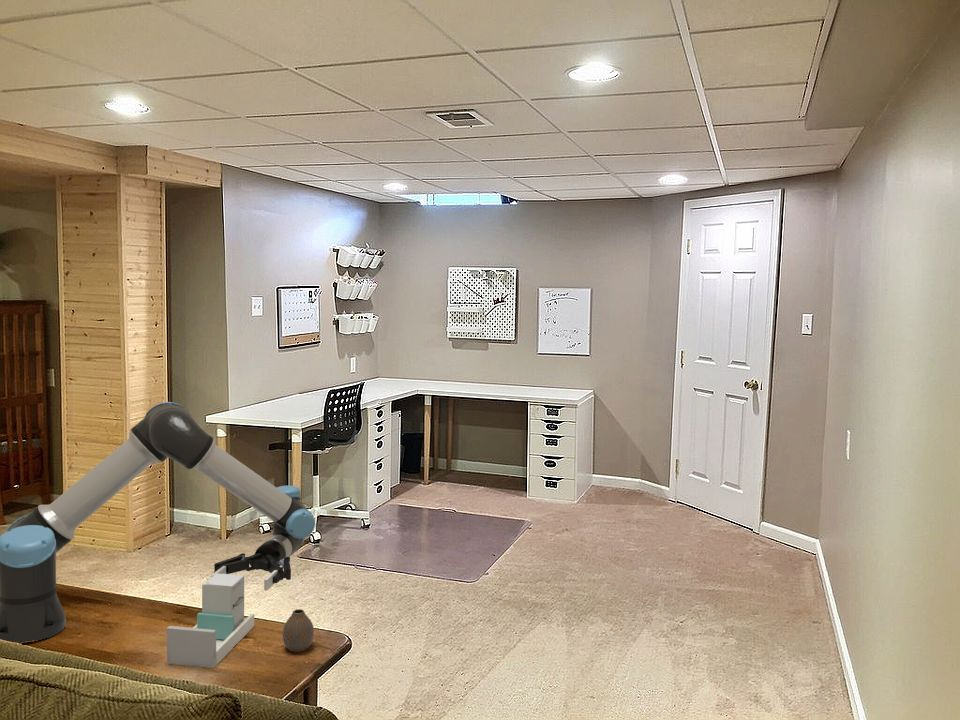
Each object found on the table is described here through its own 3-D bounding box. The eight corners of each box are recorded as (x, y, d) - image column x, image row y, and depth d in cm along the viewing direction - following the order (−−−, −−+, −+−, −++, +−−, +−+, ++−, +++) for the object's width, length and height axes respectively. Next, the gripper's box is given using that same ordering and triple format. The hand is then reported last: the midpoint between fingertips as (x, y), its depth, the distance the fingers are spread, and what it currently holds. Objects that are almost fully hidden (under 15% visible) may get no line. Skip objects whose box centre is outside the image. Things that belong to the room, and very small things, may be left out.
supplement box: (231, 639, 182) (231, 586, 180) (201, 636, 183) (200, 583, 181) (245, 625, 189) (245, 574, 188) (216, 623, 190) (215, 572, 188)
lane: (212, 622, 191) (212, 590, 190) (254, 626, 190) (254, 593, 189) (167, 663, 171) (166, 628, 170) (213, 668, 169) (213, 632, 168)
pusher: (199, 635, 183) (199, 612, 182) (234, 638, 181) (233, 615, 181) (197, 637, 182) (197, 614, 181) (232, 640, 180) (232, 617, 180)
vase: (302, 657, 175) (303, 619, 174) (276, 652, 177) (276, 614, 176) (319, 644, 181) (319, 607, 181) (293, 639, 184) (294, 602, 183)
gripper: (317, 570, 212) (288, 602, 191) (229, 563, 216) (190, 593, 195) (317, 543, 212) (288, 572, 191) (229, 536, 215) (190, 564, 194)
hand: (238, 583), depth 193 cm, fingers open, 13 cm apart
